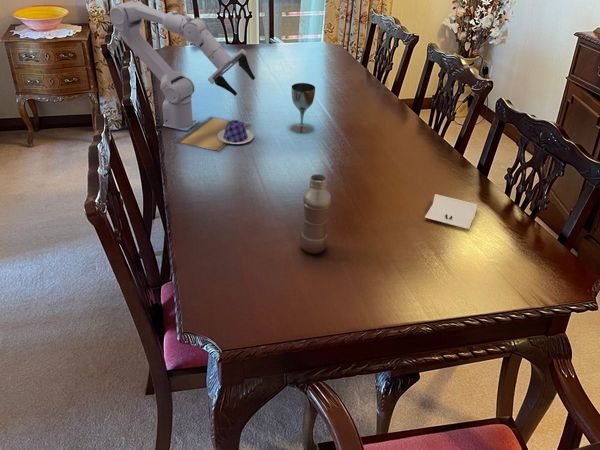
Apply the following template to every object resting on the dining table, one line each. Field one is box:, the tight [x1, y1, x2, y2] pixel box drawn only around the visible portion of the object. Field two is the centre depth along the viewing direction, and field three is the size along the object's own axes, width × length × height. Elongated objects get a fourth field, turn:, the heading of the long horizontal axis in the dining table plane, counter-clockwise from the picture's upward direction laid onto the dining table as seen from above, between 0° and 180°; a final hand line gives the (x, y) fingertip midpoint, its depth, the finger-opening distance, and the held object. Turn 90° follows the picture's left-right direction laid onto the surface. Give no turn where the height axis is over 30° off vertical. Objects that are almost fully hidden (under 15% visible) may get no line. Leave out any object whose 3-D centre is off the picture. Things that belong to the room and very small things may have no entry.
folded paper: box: [424, 193, 478, 230], centre depth 150 cm, size 12×12×2 cm
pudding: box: [217, 119, 255, 145], centre depth 183 cm, size 12×12×5 cm
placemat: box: [177, 117, 249, 152], centre depth 187 cm, size 15×22×1 cm
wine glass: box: [290, 82, 316, 134], centre depth 189 cm, size 8×8×15 cm
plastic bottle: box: [299, 173, 332, 255], centre depth 130 cm, size 6×7×20 cm
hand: (245, 86), depth 174 cm, fingers open, 7 cm apart
